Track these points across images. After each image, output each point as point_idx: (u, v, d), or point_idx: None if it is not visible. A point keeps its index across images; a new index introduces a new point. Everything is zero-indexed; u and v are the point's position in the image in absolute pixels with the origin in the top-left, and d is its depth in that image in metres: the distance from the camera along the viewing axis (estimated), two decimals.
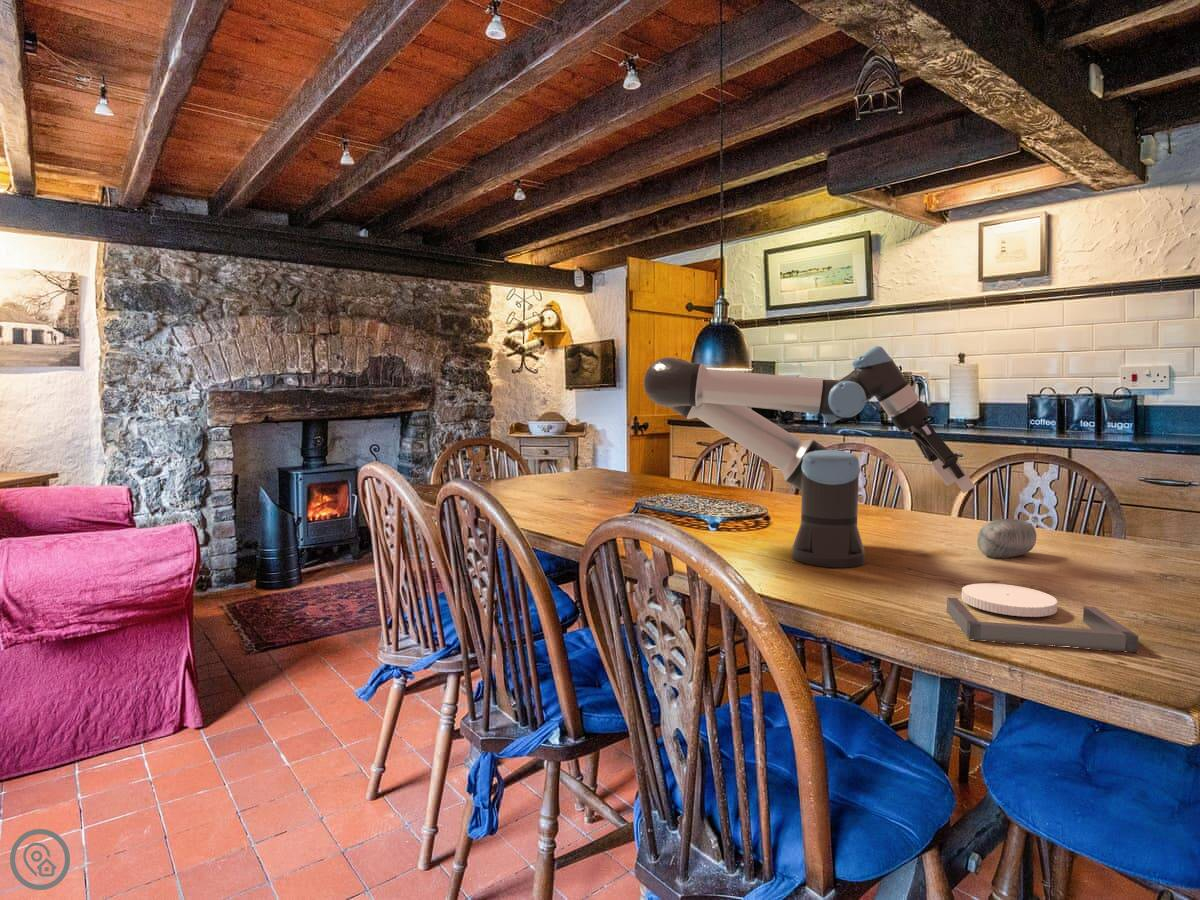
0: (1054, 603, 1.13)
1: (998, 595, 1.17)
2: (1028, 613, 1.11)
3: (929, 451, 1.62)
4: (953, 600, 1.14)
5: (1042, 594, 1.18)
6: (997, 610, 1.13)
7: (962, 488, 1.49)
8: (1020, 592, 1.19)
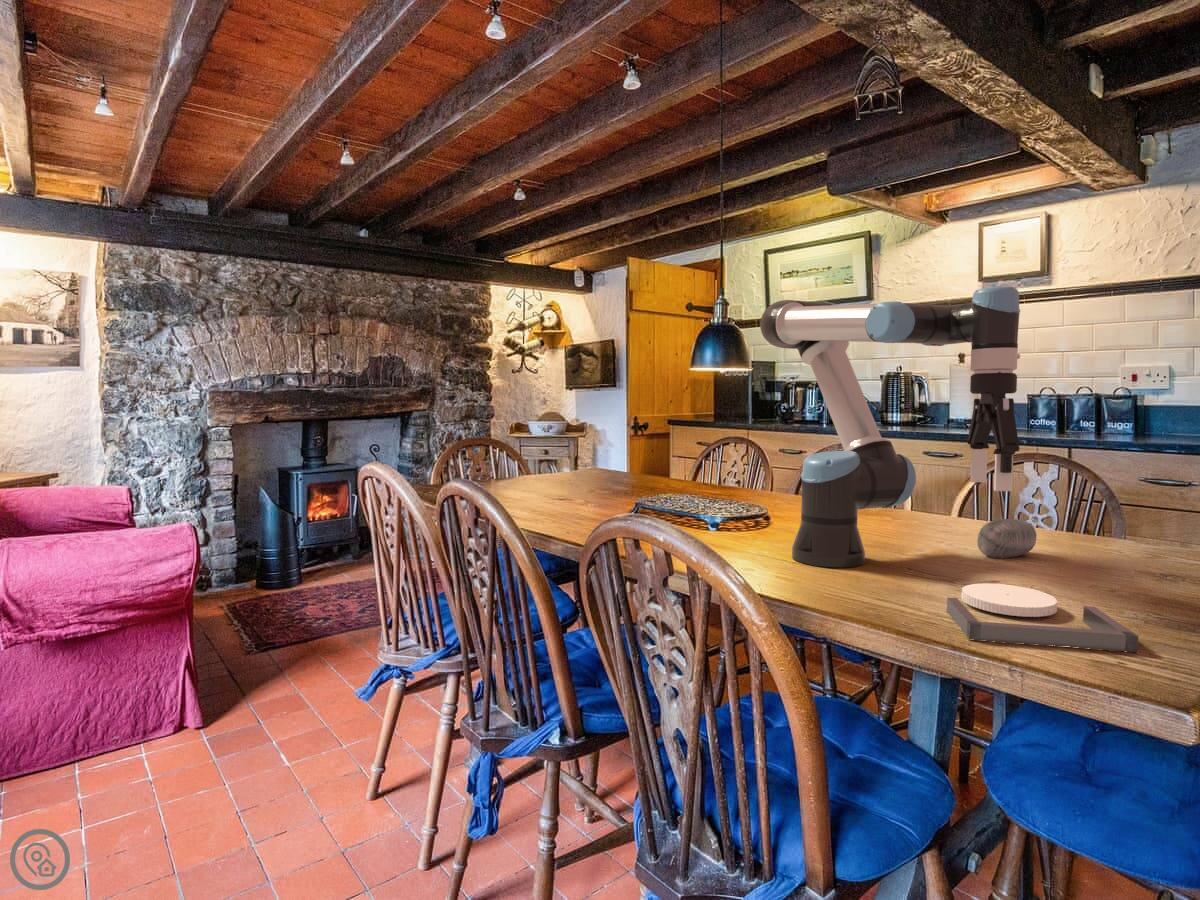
0: (1054, 603, 1.13)
1: (998, 595, 1.17)
2: (1028, 613, 1.11)
3: (980, 435, 1.35)
4: (953, 600, 1.14)
5: (1042, 594, 1.18)
6: (997, 610, 1.13)
7: (997, 485, 1.23)
8: (1020, 592, 1.19)
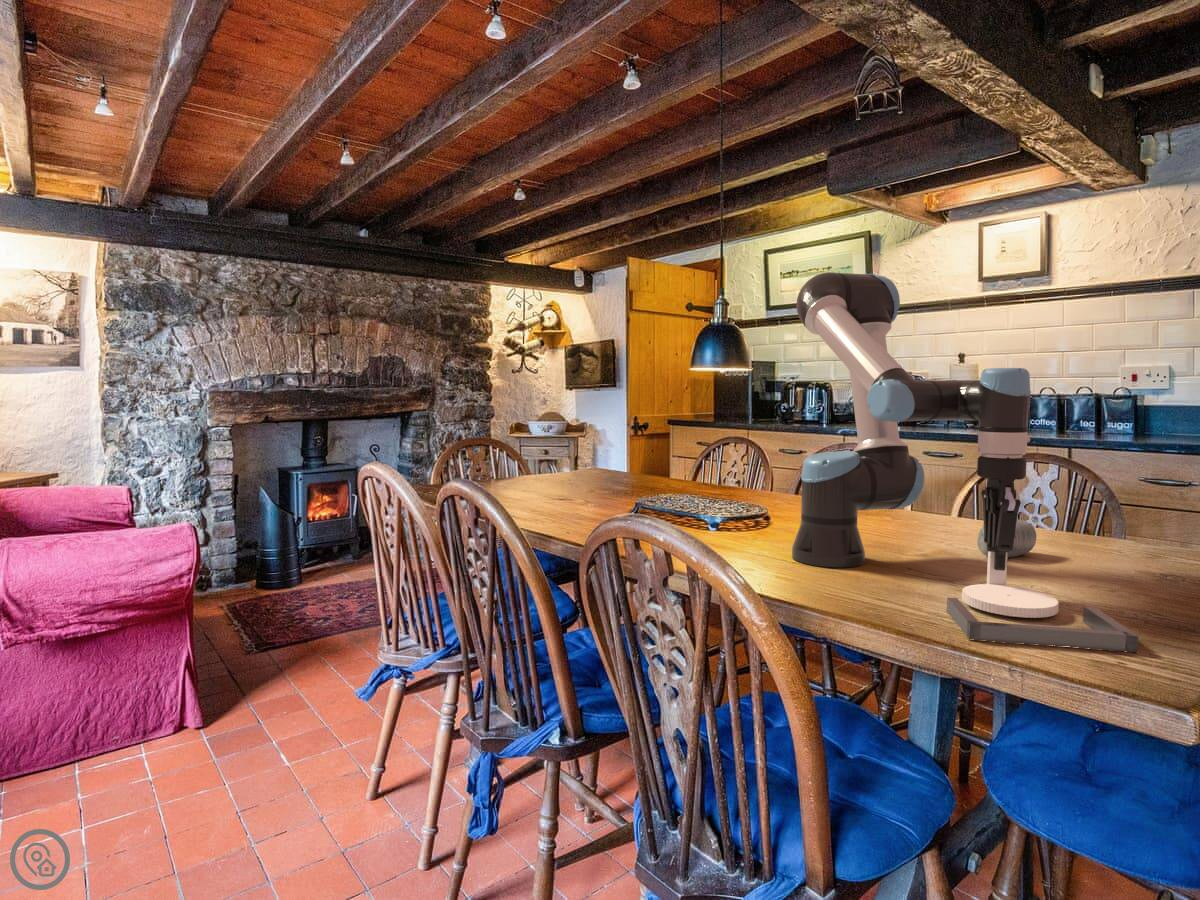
0: (1055, 604, 1.12)
1: (999, 596, 1.17)
2: (1029, 614, 1.10)
3: None
4: (953, 600, 1.14)
5: (1043, 595, 1.17)
6: (998, 611, 1.12)
7: (991, 581, 1.24)
8: (1021, 593, 1.18)
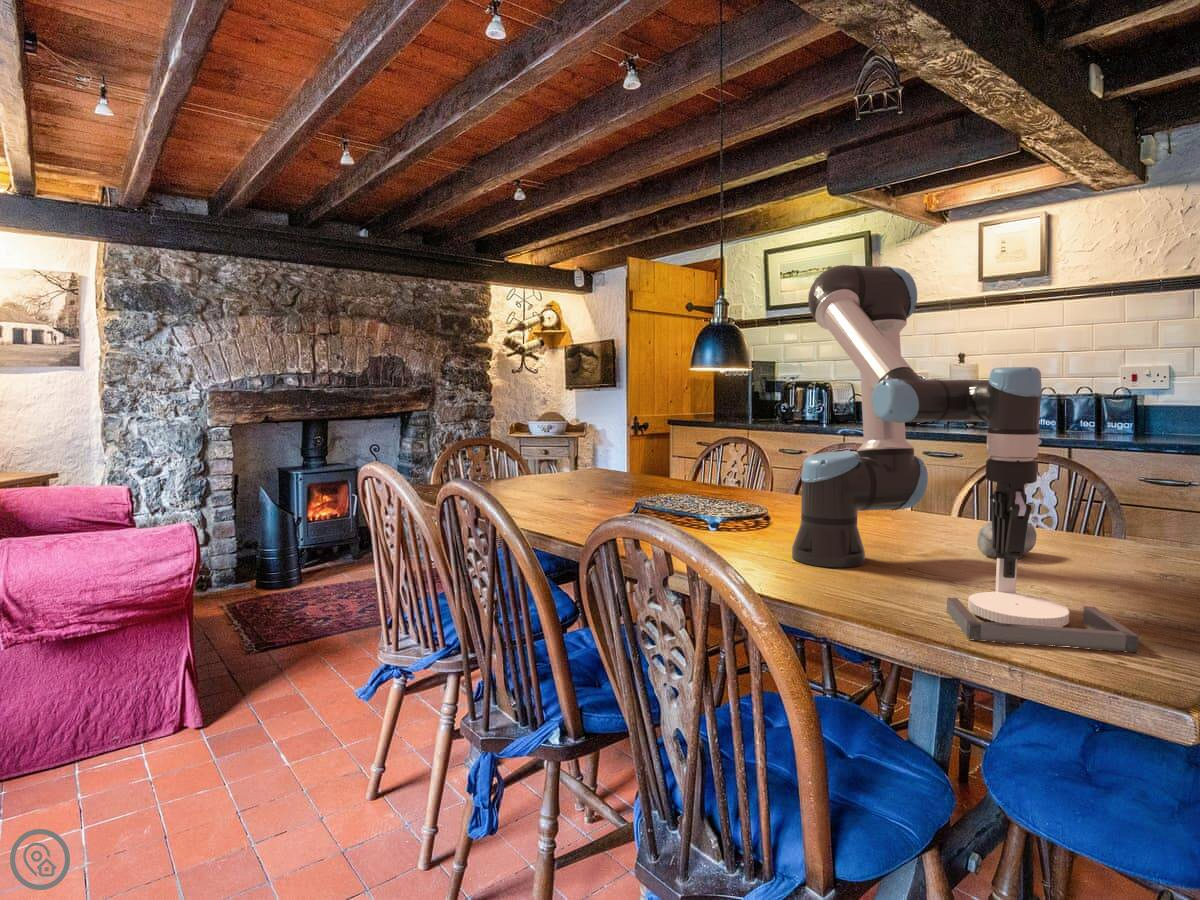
0: (1066, 613, 1.07)
1: (1007, 605, 1.12)
2: (1039, 624, 1.06)
3: None
4: (953, 600, 1.14)
5: (1053, 604, 1.12)
6: (1006, 621, 1.07)
7: (1000, 589, 1.19)
8: (1029, 601, 1.14)
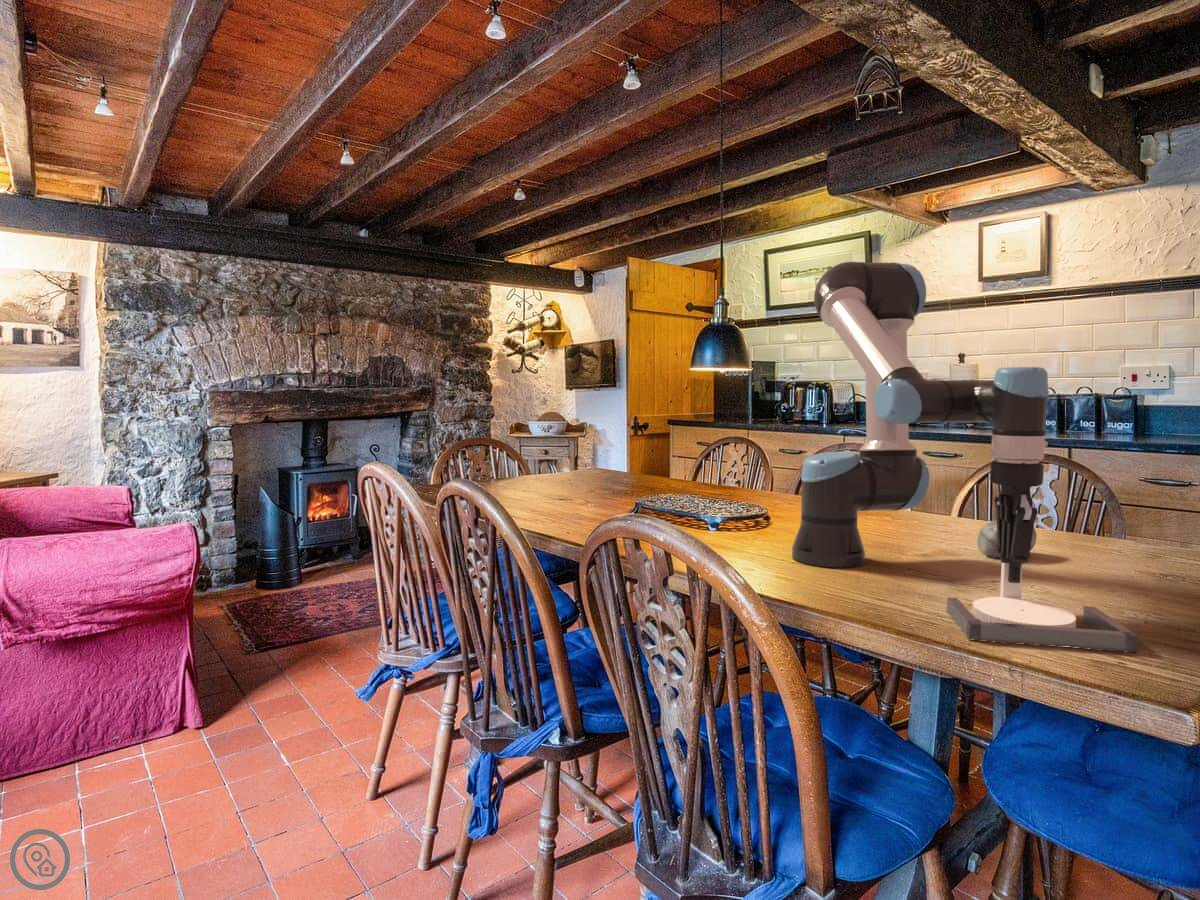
0: (1073, 620, 1.05)
1: (1012, 611, 1.09)
2: None
3: None
4: (953, 600, 1.14)
5: (1059, 610, 1.10)
6: None
7: (1005, 594, 1.16)
8: (1035, 607, 1.11)
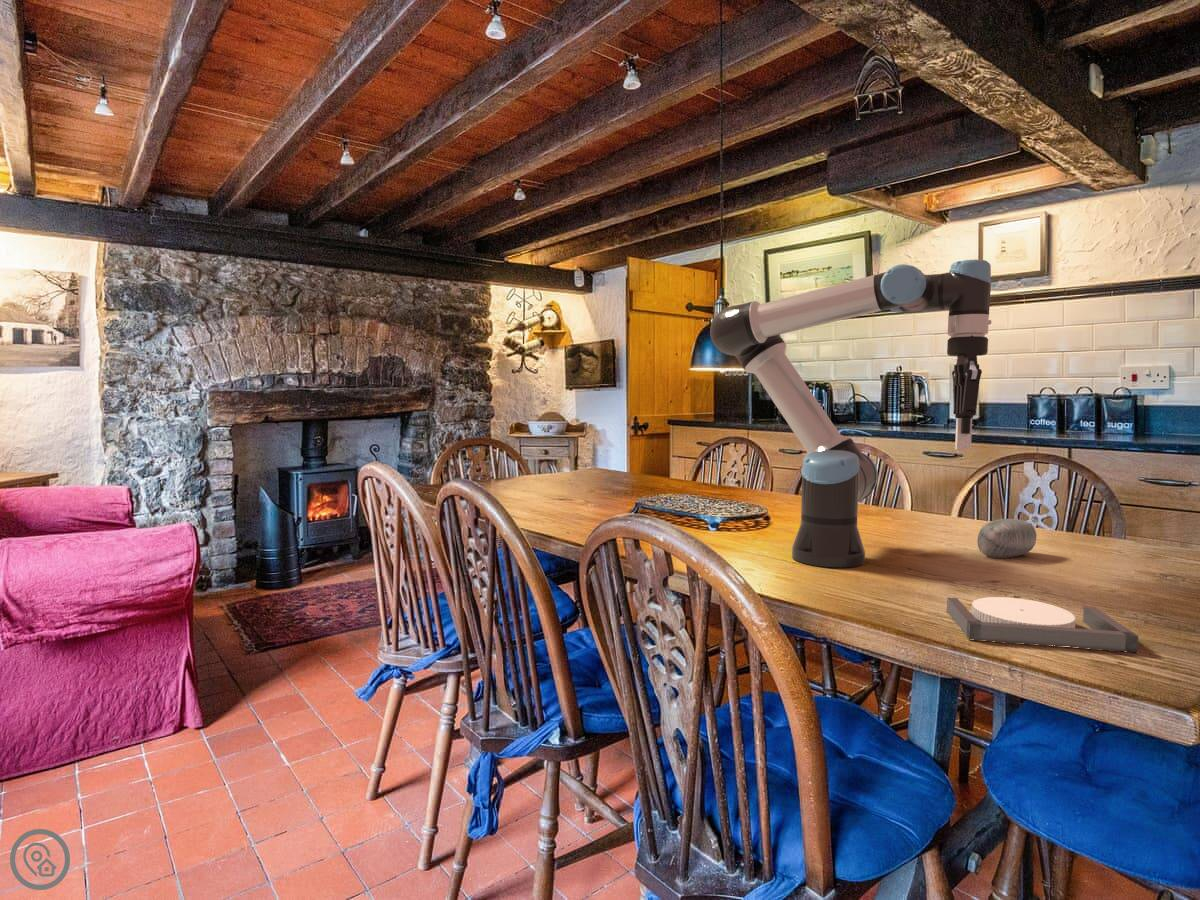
0: (1072, 620, 1.05)
1: (1011, 611, 1.09)
2: None
3: None
4: (953, 600, 1.14)
5: (1058, 609, 1.10)
6: None
7: (958, 444, 1.46)
8: (1035, 607, 1.11)
